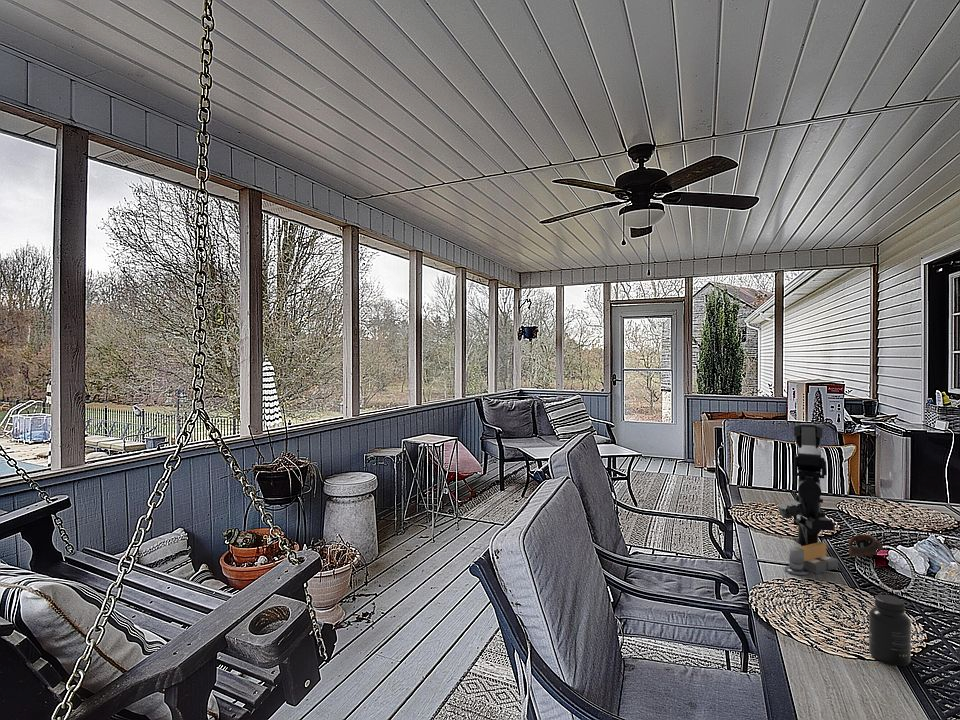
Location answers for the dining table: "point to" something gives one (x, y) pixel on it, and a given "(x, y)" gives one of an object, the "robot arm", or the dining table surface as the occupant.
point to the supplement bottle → (890, 631)
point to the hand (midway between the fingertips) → (808, 545)
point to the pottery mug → (864, 546)
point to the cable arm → (807, 552)
